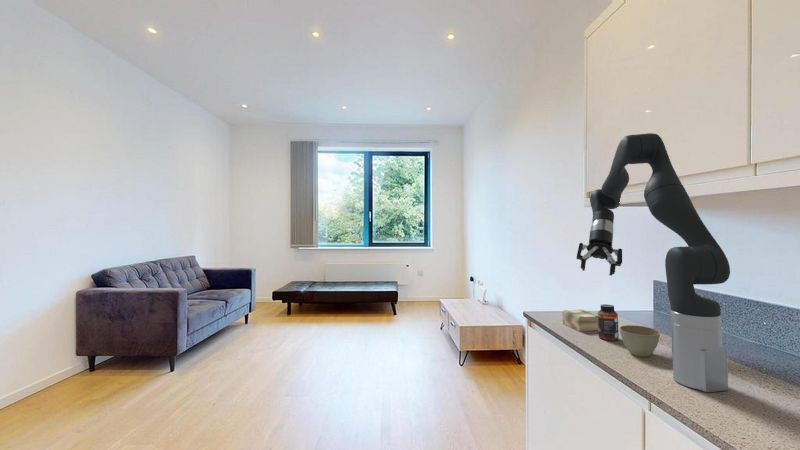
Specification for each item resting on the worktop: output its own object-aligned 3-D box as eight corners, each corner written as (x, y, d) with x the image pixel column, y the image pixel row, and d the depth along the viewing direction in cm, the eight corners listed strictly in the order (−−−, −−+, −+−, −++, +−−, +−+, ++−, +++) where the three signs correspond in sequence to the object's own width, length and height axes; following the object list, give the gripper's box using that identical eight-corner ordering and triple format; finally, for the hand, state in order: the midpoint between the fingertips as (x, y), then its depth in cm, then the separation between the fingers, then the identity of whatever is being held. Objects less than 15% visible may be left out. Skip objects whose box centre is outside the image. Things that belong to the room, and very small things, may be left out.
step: (601, 329, 125) (601, 315, 125) (579, 331, 123) (578, 317, 124) (583, 322, 135) (583, 309, 135) (562, 323, 133) (562, 310, 134)
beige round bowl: (612, 349, 105) (611, 326, 105) (638, 346, 107) (637, 323, 107) (641, 362, 95) (640, 336, 95) (669, 358, 97) (669, 333, 97)
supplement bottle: (622, 341, 112) (621, 307, 112) (604, 341, 112) (603, 307, 112) (612, 335, 118) (610, 303, 118) (594, 335, 118) (593, 303, 118)
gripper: (581, 226, 128) (575, 263, 121) (625, 231, 121) (622, 271, 114) (579, 236, 133) (573, 272, 126) (621, 241, 127) (618, 280, 120)
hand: (597, 272), depth 120 cm, fingers open, 8 cm apart
